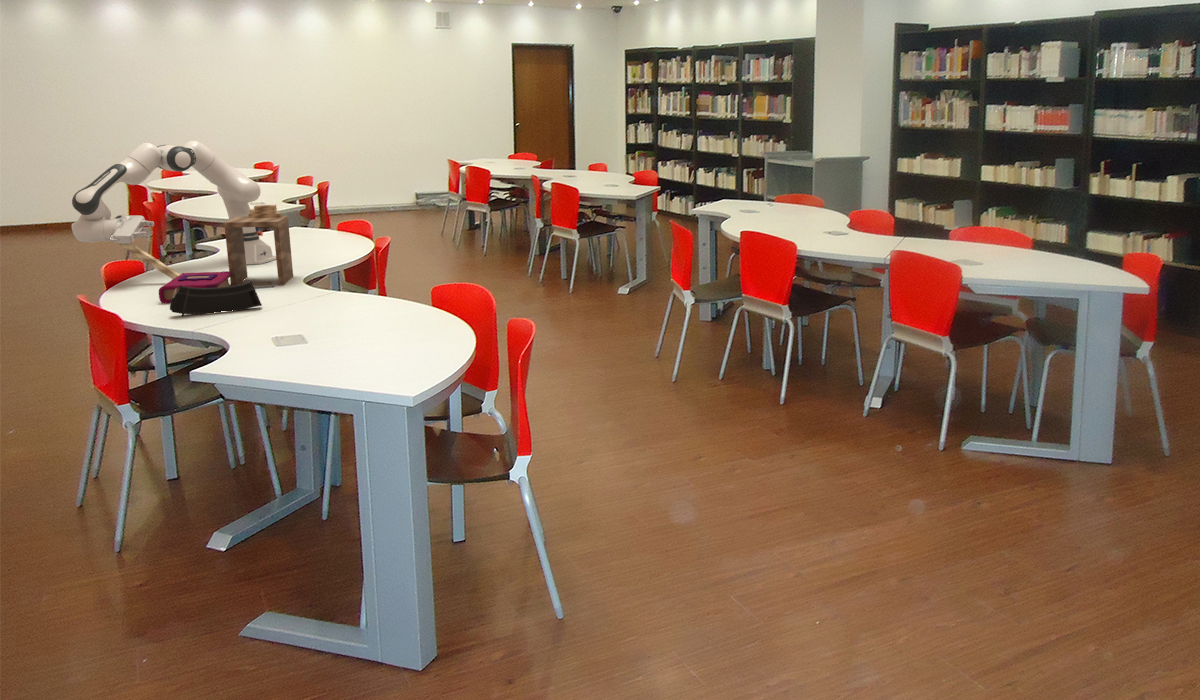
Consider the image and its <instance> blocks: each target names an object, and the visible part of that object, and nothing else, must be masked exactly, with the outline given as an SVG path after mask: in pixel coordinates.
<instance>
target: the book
mask: <svg viewBox="0 0 1200 700" xmlns="http://www.w3.org/2000/svg"><path fill="white" fill-rule="evenodd" d="M179 274H180V275H179V276H177V277H176V278H174V279H171V280H169V282H166V283H165V284H164V285H162V286H161V287H159V289H158V298H159V301H160V303H162V304H163V303H164V304H171V299H172V297H173V295H174V291H175V289H176V288H177V290H178V288H179V285H181V286H183V287H193V288H218V287H226V286H234V285H231V284H230V282H229V279H230V277H231V276H232V271H229V270H226V271H208V272H182V273H179Z"/></svg>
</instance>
